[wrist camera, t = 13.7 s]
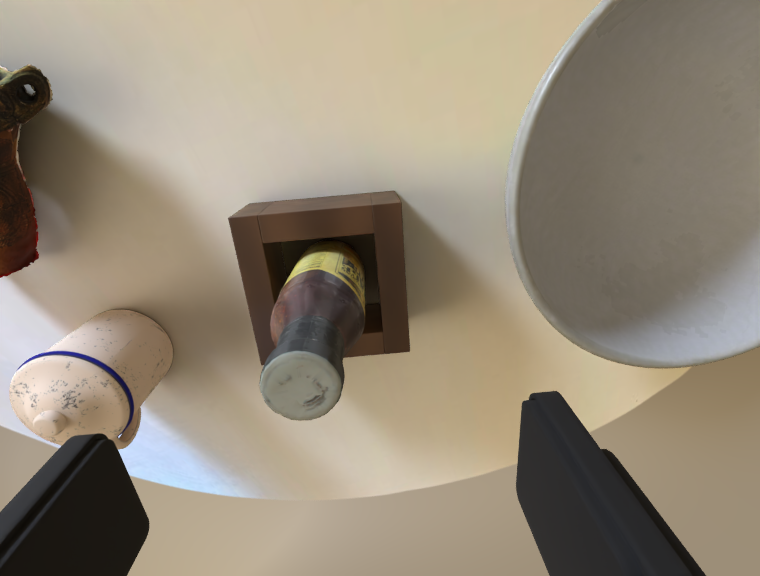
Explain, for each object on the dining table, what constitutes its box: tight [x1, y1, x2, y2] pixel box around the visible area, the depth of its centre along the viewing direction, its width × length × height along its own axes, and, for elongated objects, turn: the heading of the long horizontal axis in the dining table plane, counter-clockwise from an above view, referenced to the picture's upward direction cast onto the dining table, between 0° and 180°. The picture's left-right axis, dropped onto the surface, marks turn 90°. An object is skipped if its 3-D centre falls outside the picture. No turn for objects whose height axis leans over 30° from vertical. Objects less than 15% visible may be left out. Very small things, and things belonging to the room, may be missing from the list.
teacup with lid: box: [9, 310, 173, 449], centre depth 35 cm, size 12×9×12 cm
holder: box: [228, 191, 410, 365], centre depth 35 cm, size 13×13×6 cm
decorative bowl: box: [505, 0, 760, 368], centre depth 30 cm, size 27×27×12 cm
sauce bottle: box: [260, 239, 365, 420], centre depth 28 cm, size 7×6×20 cm
